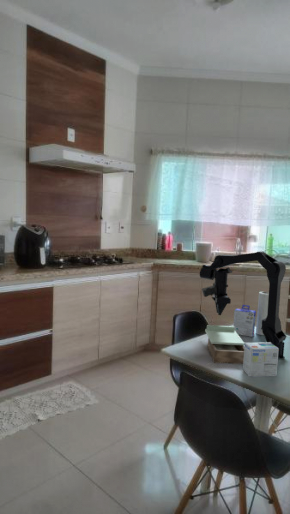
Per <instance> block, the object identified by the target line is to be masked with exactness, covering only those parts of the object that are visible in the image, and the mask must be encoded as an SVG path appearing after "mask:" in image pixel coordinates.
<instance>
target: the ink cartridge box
mask: <svg viewBox="0 0 290 514" xmlns="http://www.w3.org/2000/svg"><path fill="white" fill-rule="evenodd" d="M256 317H257V312H256V310H252V309H250V305H248V304H242V306H241V308H235V310H234V312H233V324H232V326H234V327H235V331H236V333H237V334H238V335H239V336H245V337H251V338H252V337H253V336H254V335H255V330H256Z"/></svg>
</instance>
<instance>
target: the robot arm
mask: <svg viewBox="0 0 290 514" xmlns="http://www.w3.org/2000/svg"><path fill="white" fill-rule="evenodd" d="M213 259H214V260H213V261H212V263H211V264H210V265H208V264H203V265H202V266H201V268H200V270H199V277H200V278H201V279H203V280H211V281H213V283H212V285H210V286H207V287H203V288H202V289H201V291H202V295H203V297H204V298H206V297H208V296H211V298H212V300H213V301H214V303H215V310H216V313H217V314H218V316H221V315H222V314H223V312H224V310H225V309H226V307H227V306H228V305H230V304H231V298H230V297H229V296H228V292H227V291H228V290H227V288H228V287H229V284H228V276H229V275H228V274H232V273H233V271H232V269H230V266H233V265H236V264H242V263H248V262H250V263H251V262H258V263H259V264H260V265H261V267H262V268H263V269H265V271H266V277H267V280H268V284H269V287H268V292H269V297H268V312H267V317H266V318H265V319H263V320H262V327H261V329H262V332H263V334H264V335H265V336H264V335H263V336H264V339H265V341H266V342H271V343H272V344H273V345H275V346H276V347H278V348H279V351H278V359H285V358H286V357H285V356H284V354H285V353H284V351H285V342H284V341H286V339H287V338H288V337H287V335H286V334H285V332H284V331H283V330H282V323H281V319H280V317H279V315H280V314H279V312H280V301H281V288H282V287H281V285H282V281H283V280H284V278H285V275H286V270H287V266H286V264H285V263H284V262H282V261H280V260H277V259H276V258H274V257H273V256H270V255H269V254H267V253H266V252H265V251H263V250H260V251H257V252H250V253H245V254H243V253H241V254H237V255H236V254H235V255H234V254H219V255H215V257H214V258H213Z"/></svg>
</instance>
